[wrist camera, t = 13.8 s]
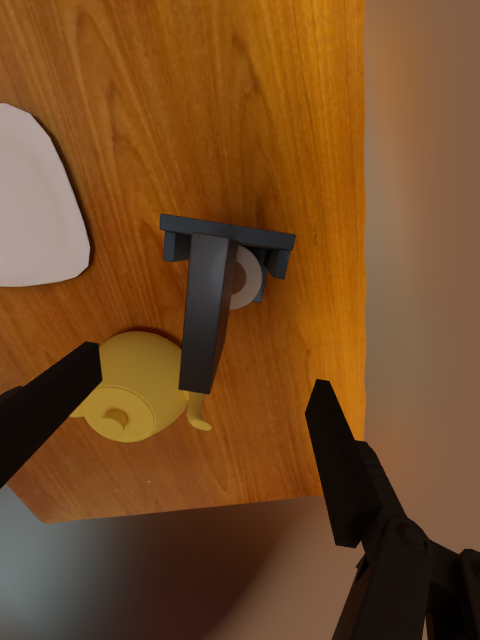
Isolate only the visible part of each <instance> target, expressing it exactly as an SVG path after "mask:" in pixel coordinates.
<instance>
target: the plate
mask: <svg viewBox="0 0 480 640" xmlns="http://www.w3.org/2000/svg"><path fill="white" fill-rule="evenodd" d="M90 250H91V246H90V242H89V238H88V234H87V230H86V226H85V222H84V220H83V217H82V214H81V211H80V208H79V205H78V202H77V200H76V197H75V194H74V191H73V189H72V186H71V183H70V181H69V178H68V175H67V173H66V170H65V167H64V165H63V163H62V161H61V159H60V156H59V154H58V152H57V150H56V148H55V146H54V144H53V142H52V140H51V137H50V136H49V135H48V134H47V133H46V131H45V130H44V129H43V128H42V127H41V125H40V124H39V123H38V122H37V121H36V119H35V118H34V117H33V116H32V115H31V114H30V113H28V112H25V111H23V110H20V109H18V108H16V107H13V106H11V105H8V104H6V103H2V104H0V287H22V286H31V285H40V284H47V283H54V282H60V281H63V280H67V279H71V278H74V277H77V276H78V275H79V274H80V273H82V272H83V271H84V270H85V269H86V268H87V267H88V266H89V259H90Z"/></svg>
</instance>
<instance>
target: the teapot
mask: <svg viewBox="0 0 480 640" xmlns="http://www.w3.org/2000/svg"><path fill="white" fill-rule="evenodd" d="M181 351H182V350H181V349H180V348H179V347H178V346H177V345H176V344H174V343H173V342H171V341H170V340H168V339H166V338H164V337H162V336H160V335H157V334H154V333H150V332H144V331H131V332H125V333H121V334H118V335H115V336H113V337H111V338H109V339H108V340H107V341H105V342H104V343H103V344H102V345H101V346H100V347H99V353H100V361H101V370H102V378H103V381H102V382H101V383H100V384H99V385H98V386H97V387H96V388H95V389H94V390H93V391H92V392H91V394H90V395H89V396H88V397H87V398H86V399H85V400H84V401H83V402H82V403H81V404H80V405H79V406H78V407H77V408H76V409H75V410H74V412H73V413H72V414H71V415H70V416H69V417H73V418H74V417H82V416H84V417H85V419H86V421H87V422H88V424H89V425H90V426H91V427H92V428H93V429H94V430H95V431H96V432H98V433H99V434H101V435H103V436H104V437H107V438H109V439H112V440H115V441H120V442H136V441H140V440H143V439H145V438H148V437H150V436H152V435H154V434H155V433H157V432H159V431H161V430H162V429H164V428H166V427H167V426H168V425H170V424H171V423H172V422H174V421H175V420H176V419H177V418H178V417H179V416H180V415H181V414H182V412H183V411H184V410H185V408H186V407H187V406H188V408H187V419H188V421H189V423H190V424H191V425H192V426H194V427H196V428H198V429H201V430H206V431H208V430H211V429H212V427H211V425H210V424H209V423H207V422H206V421H205V420H204V419H203V418H202V416H201V409H202V405H203V402H204V394H202V393H196V392H190V391H183V390H179V389H178V385H179V374H180V362H181Z"/></svg>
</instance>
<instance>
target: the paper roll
mask: <svg viewBox="0 0 480 640" xmlns="http://www.w3.org/2000/svg"><path fill="white" fill-rule="evenodd" d="M261 283H262V271H261V267H260V264H259V262H258V260H257V258H256V257H255V255H254V254H253V253H252V252H251V251H250V250H249V249H247V248H245V247H243V246H241V245H238V252H237V259H236V266H235V273H234V280H233V287H232V294H231V301H230V308H229V310H231V309H238V308H241V307H243V306H245V305H247V304H249V303H250V302H251V301H252V300H253V299H254V298H255V297H256V295H257V294H258V292H259V290H260V287H261Z"/></svg>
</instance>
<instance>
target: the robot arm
mask: <svg viewBox="0 0 480 640" xmlns="http://www.w3.org/2000/svg"><path fill="white" fill-rule="evenodd" d="M102 381H103V378H102V370H101V361H100V353H99V344H98V343H92V342H84V343H83V344H82V345H80V346H79V347H78V348H76V349H75V350H73V351H72V352H71V353H69V354H68V355H67V356H65V357H64V358H62V359H61V360H60V361H58V362H57V363H56V364H54V365H53V366H52V367H50V368H49V369H47V370H46V371H45V372H43V373H42V374H41V375H39V376H38V377H36V378H35V379H34V380H32V381H31V382H30V383H28V384H27V385H25V386H24V387H23V386H18V387H15V388H13V389H11V390H9V391H6V392H4V393H3V394H1V395H0V489H1V488H2V487H3V486H4V485H5V484H6V482H7V481H8V480H9V479H10V478H11V477H12V476H13V475H14V474H15V473H16V472H17V471H18V470H19V469H20V468H21V467H22V466H23V464H24V463H25V462H26V461H27V460H28V459H29V458H30V457H31V456H32V455H33V454H34V453H35V452H36V451H37V450H38V449H39V448H40V446H41V445H42V444H43V443H44V442H45V441H46V440H47V439H48V438H49V437H50V436H51V435H52V434H53V433H54V432H55V431H56V430H57V428H58V427H59V426H60V425H61V424H62V423H63V422H64V421H65V420H66V419H67V418H68V417H69V416H70V415H71V414H72V413H73V412H74V410H75V409H76V408H77V407H78V406H79V405H80V404H81V403H82V402H83V401H84V400H85V399H86V398H87V397H88V396H89V395H90V394H91V392H92V391H93V390H94V389H95V388H96V387H97V386H98V385H99V384H100V383H101V382H102ZM305 416H306V421H307V425H308V429H309V434H310V438H311V442H312V446H313V451H314V455H315V459H316V463H317V468H318V472H319V476H320V480H321V485H322V489H323V493H324V498H325V502H326V506H327V510H328V515H329V519H330V523H331V527H332V531H333V536H334V540H335V544H336V545H338V546H344V547H350V548H356V547H357V545H358V544H359V542H360V541H361V542H362V545H363V548H364V551H365V554H364V556H363V557H362V558H361V560H360V561H359V563H358V564H357V565H356V568H357V569H358V570H357V573H356V576H355V579H354V581H353V584H352V587H351V589H350V592H349V595H348V597H347V600H346V603H345V605H344V608H343V611H342V614H341V616H340V619H339V621H338V624H337V627H336V630H335V632H334V635H333V637H332V640H422V634H423V627H424V620H425V617H426V627H427V637H428V640H480V552H477V551H475V550H473V549H464V550H463V551H462V552H461V553H460V554H457V553H455V552H453V551H451V550H449V549H447V548H445V547H443V546H441V545H439V544H437V543H435V542H433V541H432V540H430V539H429V538H428V537H427V535H426V534H425V533H424V531H423V530H422V529H421V528H420V527H419V526H418V525H417V524H416V523H415V522H414V521H412V520H411V519H409V518H407V515H406V514H405V512H404V510H403V508H402V506H401V504H400V502H399V500H398V498H397V496H396V494H395V492H394V490H393V488H392V486H391V484H390V482H389V480H388V477H387V476H386V474H385V472H384V469H383V467H382V466H381V463H380V461H379V459H378V457H377V455H376V453H375V452H374V451H373V449H372V448H371V447H370V446H369V445H368V444H367V443H366V442H363V441H357V440H355V439H354V437H353V435H352V432H351V430H350V428H349V425H348V423H347V421H346V418H345V416H344V414H343V411H342V409H341V407H340V404H339V402H338V400H337V397H336V395H335V393H334V390H333V388H332V386H331V384H330V381H326V380H320V379H316V382H315V385H314V388H313V391H312V394H311V397H310V400H309V403H308V406H307V409H306V411H305Z"/></svg>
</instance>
